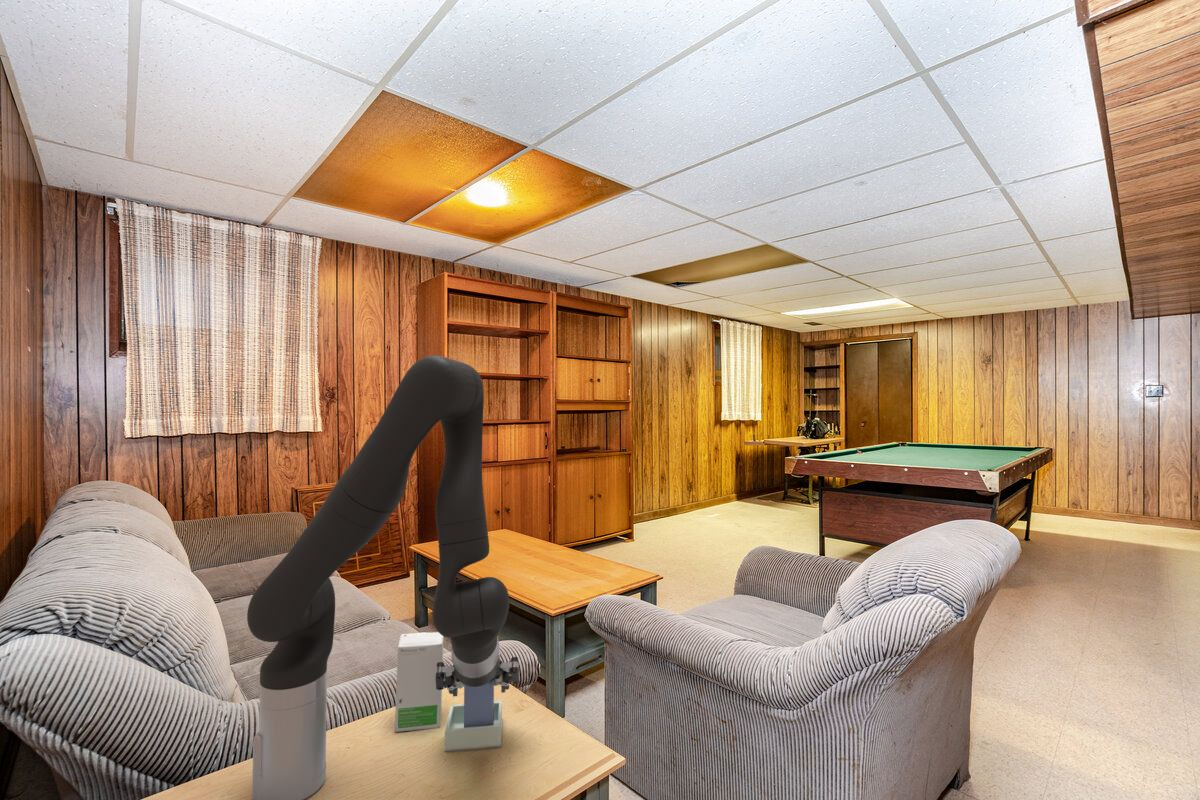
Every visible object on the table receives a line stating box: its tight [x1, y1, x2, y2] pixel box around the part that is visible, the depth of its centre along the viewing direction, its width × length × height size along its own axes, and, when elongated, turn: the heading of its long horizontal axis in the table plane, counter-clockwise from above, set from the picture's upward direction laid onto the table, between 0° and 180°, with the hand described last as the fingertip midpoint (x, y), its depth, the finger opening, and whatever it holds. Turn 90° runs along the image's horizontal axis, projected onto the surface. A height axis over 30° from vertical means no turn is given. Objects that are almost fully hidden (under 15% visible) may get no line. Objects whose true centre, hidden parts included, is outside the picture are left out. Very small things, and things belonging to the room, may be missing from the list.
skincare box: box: [394, 631, 445, 733], centre depth 104 cm, size 8×7×16 cm
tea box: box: [463, 683, 495, 728], centre depth 99 cm, size 5×5×12 cm
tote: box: [444, 700, 503, 753], centre depth 99 cm, size 10×9×4 cm
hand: (479, 688), depth 100 cm, fingers open, 8 cm apart
